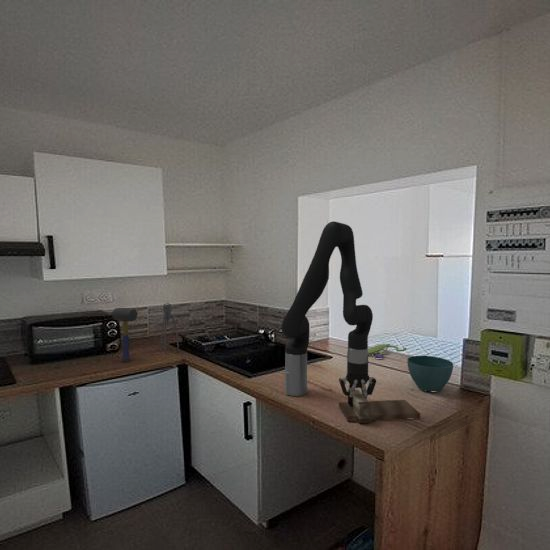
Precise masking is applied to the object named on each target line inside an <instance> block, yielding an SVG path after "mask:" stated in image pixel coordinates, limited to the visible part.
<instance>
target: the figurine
mask: <svg viewBox="0 0 550 550" xmlns="http://www.w3.org/2000/svg"><path fill="white" fill-rule="evenodd" d="M389 348H393V349H394V348H395V351H397V352H405V351H406V350H407V349H408V348H407V347H403V349H399V347H398V346H397V345H392V344H390V343H387V344H386V343H385V344H384V343H382V344H377V345H374V346H371V347H370V348H368V354H370V355H371V356H372V355H374V359H375V358H383V359H384V356H385V355H384V353H383V352H381V351H383V350H388V349H389Z"/></svg>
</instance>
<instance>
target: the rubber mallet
mask: <svg viewBox="0 0 550 550" xmlns="http://www.w3.org/2000/svg"><path fill="white" fill-rule="evenodd" d="M111 314H112V318H113V320H114V321H120V322H122V338H121V347H122V356H121V357H122V361H123V362H129V361H130V360H131V356H130V337H129V331H128V330H129V329H128V327H129V325H128V322H134V321H136V320H137V318H138V311H137V309H135V308H132V307H131V308H130V307H116V308H114V309H113V310H112V313H111Z"/></svg>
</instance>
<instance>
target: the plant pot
mask: <svg viewBox="0 0 550 550" xmlns="http://www.w3.org/2000/svg"><path fill="white" fill-rule="evenodd" d="M406 362H407V363H406V364H407V367H408V372H409V374H410V377H411V379H412V381H413V383H414V384H415V386H416V387H418V389H419V388H420V390H421V389H422V390H421V391H423V390H426V391H439V390H440V391H442V389H444V387H446V385H447V384H448V382H449V380H450V379H451V377H452V373H453V369H454V363H453V362H452V360H449V359H447V358H443V357H437V356H431V355H413V356H409V357H408V358H407V361H406ZM426 391H425V392H426ZM440 391H439V392H440Z"/></svg>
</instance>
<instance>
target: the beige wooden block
mask: <svg viewBox="0 0 550 550" xmlns="http://www.w3.org/2000/svg"><path fill="white" fill-rule="evenodd" d="M352 397H353V407H351V408H352V409H353V411H354V412H355V413H356V415H357V416H358V419H357V420H358V422H357V423H359V424H367V423H369V424H370V423H371V422H372V421H371V404H370V402H369V401H370V400H368V398H367V399H366V398H365V397H364V396H363V394H362V391H361V390H360V389H355V391H354V393H353V396H352Z"/></svg>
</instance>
